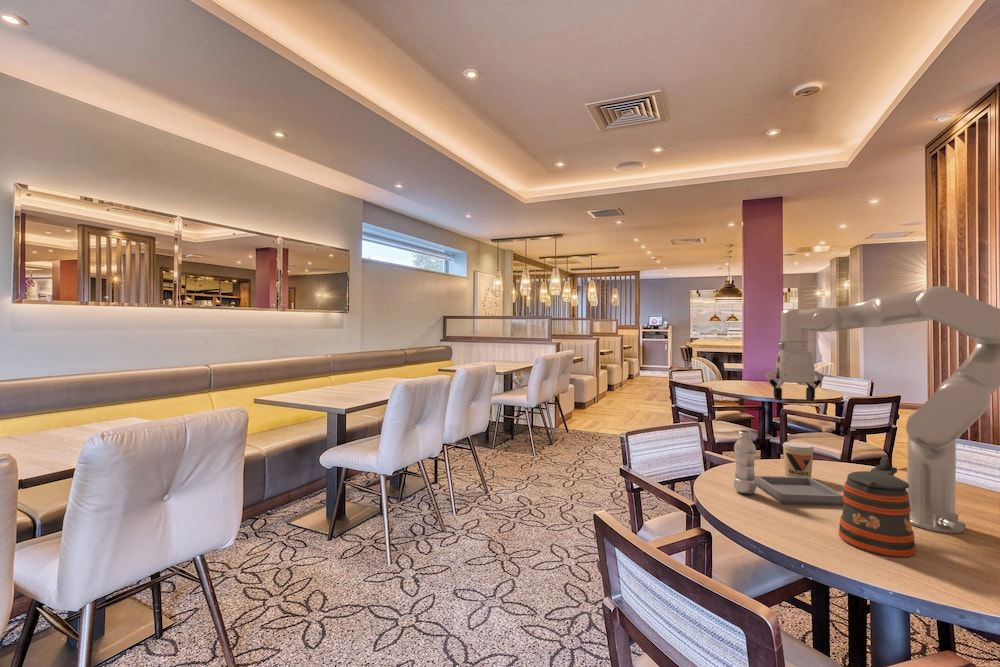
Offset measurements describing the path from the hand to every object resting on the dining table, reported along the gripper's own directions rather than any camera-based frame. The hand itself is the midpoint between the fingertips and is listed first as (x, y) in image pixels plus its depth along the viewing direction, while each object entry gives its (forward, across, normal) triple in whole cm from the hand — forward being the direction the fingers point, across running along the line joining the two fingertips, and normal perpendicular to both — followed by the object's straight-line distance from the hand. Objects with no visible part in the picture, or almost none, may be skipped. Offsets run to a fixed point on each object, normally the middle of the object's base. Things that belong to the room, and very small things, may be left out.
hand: (794, 400), depth 145 cm
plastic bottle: (+31, -15, 0) cm, 34 cm away
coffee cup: (+31, +11, +18) cm, 37 cm away
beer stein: (+31, +3, -32) cm, 45 cm away
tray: (+30, +1, 0) cm, 30 cm away
